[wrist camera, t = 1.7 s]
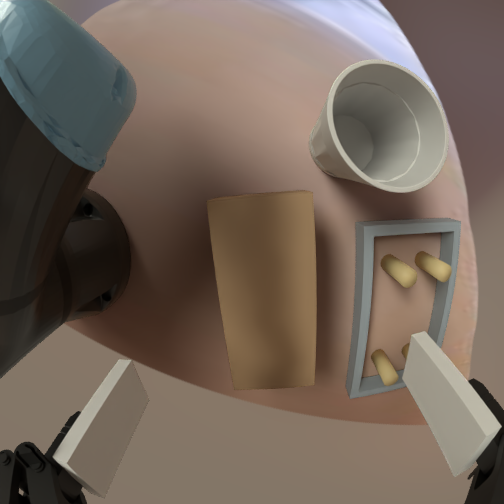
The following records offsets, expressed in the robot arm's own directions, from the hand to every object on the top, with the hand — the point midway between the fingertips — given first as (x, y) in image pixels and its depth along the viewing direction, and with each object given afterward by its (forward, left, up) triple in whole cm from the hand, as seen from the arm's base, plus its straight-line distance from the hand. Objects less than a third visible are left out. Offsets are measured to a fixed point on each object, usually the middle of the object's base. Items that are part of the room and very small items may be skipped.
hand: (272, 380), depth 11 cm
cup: (+8, +11, -17) cm, 22 cm away
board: (0, -1, -13) cm, 13 cm away
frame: (+15, -7, -17) cm, 23 cm away
